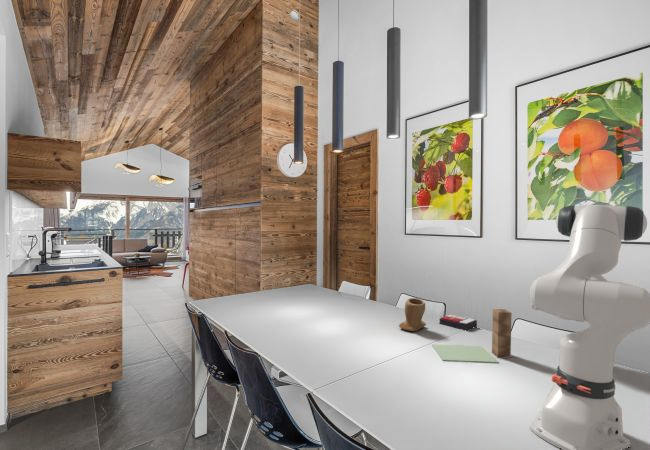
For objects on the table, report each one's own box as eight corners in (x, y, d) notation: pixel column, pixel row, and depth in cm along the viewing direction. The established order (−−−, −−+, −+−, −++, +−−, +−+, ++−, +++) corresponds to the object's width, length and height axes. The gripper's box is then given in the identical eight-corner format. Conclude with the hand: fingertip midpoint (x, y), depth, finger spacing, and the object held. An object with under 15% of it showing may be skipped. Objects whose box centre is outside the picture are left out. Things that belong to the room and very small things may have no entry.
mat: (481, 347, 142) (481, 346, 142) (498, 363, 126) (498, 362, 126) (431, 345, 143) (431, 344, 143) (442, 360, 127) (442, 359, 127)
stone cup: (417, 335, 156) (417, 303, 155) (395, 329, 164) (396, 299, 164) (432, 328, 166) (433, 298, 166) (411, 322, 175) (412, 294, 175)
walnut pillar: (504, 352, 136) (505, 309, 136) (510, 357, 131) (511, 312, 131) (491, 352, 136) (492, 308, 136) (497, 357, 131) (498, 312, 131)
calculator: (449, 313, 181) (477, 318, 170) (449, 321, 181) (477, 327, 170) (439, 317, 174) (466, 322, 163) (439, 325, 174) (467, 331, 162)
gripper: (552, 294, 142) (519, 293, 143) (587, 306, 121) (548, 305, 122) (552, 308, 142) (519, 307, 143) (587, 323, 122) (548, 322, 122)
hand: (533, 306), depth 132 cm, fingers closed
